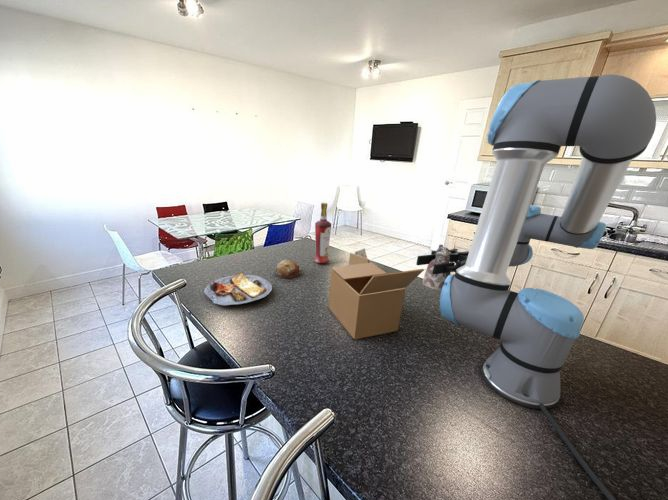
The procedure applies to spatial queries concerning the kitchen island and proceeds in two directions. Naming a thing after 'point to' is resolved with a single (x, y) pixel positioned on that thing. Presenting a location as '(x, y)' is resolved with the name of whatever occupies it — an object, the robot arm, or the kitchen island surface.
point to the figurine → (433, 279)
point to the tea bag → (361, 253)
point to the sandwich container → (357, 259)
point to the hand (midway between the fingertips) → (425, 264)
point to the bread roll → (287, 269)
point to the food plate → (237, 289)
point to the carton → (363, 301)
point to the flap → (390, 281)
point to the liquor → (322, 237)
